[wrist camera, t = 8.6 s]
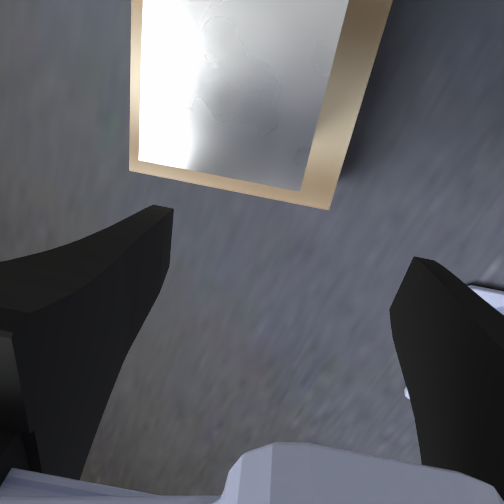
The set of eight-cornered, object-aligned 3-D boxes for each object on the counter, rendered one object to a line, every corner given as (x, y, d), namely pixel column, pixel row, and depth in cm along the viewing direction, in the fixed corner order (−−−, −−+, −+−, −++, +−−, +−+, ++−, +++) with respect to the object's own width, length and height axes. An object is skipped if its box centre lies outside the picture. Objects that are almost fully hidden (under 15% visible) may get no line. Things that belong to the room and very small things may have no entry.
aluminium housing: (298, 143, 17) (299, 191, 13) (178, 119, 17) (138, 159, 12) (372, -165, 12) (413, -255, 8) (202, -201, 12) (150, -311, 8)
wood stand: (324, 184, 21) (328, 210, 18) (149, 149, 21) (129, 170, 18) (438, -211, 13) (472, -260, 11) (166, -269, 13) (136, -333, 11)
